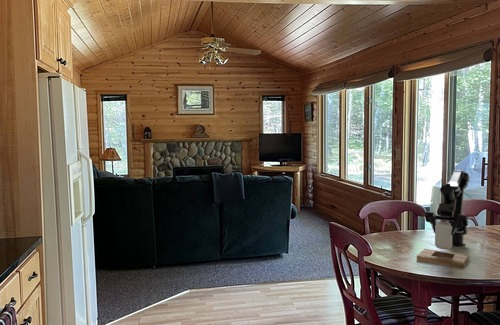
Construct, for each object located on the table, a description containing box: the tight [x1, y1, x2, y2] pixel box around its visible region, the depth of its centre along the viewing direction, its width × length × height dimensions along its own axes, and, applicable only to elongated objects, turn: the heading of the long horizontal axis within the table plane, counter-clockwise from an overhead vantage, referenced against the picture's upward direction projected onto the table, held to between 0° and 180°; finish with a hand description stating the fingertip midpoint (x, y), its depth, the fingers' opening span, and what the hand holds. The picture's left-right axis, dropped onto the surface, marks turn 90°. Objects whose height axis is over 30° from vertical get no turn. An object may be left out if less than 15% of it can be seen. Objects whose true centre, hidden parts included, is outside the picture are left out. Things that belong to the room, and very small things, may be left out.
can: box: [434, 221, 453, 250], centre depth 199 cm, size 8×8×12 cm
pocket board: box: [416, 248, 470, 269], centre depth 199 cm, size 14×20×2 cm
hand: (442, 233), depth 198 cm, fingers closed on can, 7 cm apart
